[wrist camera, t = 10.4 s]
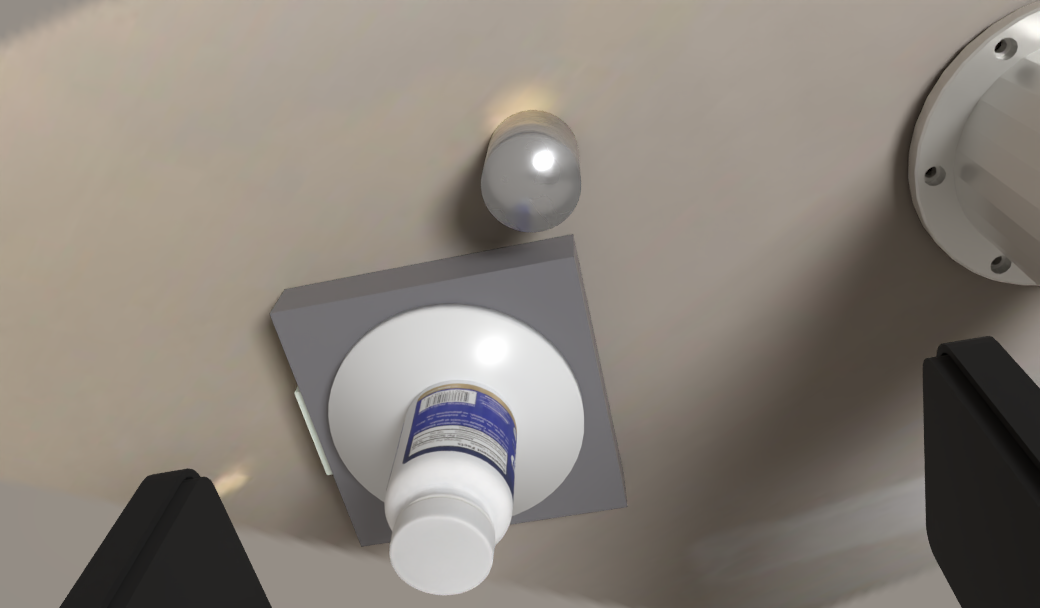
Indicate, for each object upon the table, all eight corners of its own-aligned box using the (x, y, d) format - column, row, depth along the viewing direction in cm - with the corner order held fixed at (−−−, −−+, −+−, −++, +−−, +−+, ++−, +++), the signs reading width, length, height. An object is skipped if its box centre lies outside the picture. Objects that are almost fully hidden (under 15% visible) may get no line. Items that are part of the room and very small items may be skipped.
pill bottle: (487, 484, 43) (471, 628, 35) (388, 442, 42) (349, 579, 34) (538, 404, 41) (533, 537, 33) (435, 357, 40) (404, 482, 32)
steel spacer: (569, 101, 38) (570, 127, 34) (586, 188, 39) (589, 222, 36) (478, 120, 38) (470, 147, 35) (499, 205, 40) (493, 240, 36)
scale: (572, 234, 40) (574, 264, 37) (623, 475, 46) (628, 517, 43) (274, 291, 42) (253, 324, 39) (361, 516, 48) (348, 558, 45)
